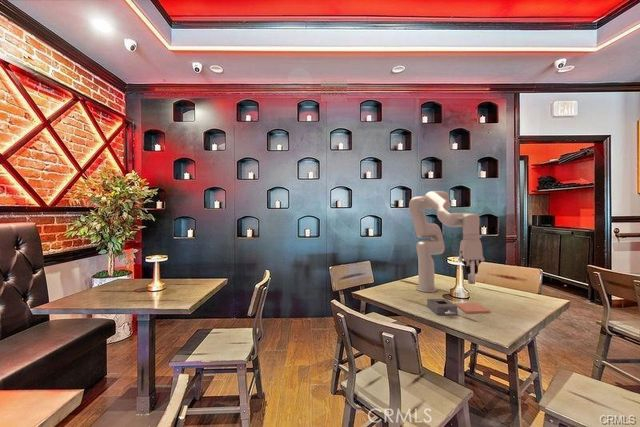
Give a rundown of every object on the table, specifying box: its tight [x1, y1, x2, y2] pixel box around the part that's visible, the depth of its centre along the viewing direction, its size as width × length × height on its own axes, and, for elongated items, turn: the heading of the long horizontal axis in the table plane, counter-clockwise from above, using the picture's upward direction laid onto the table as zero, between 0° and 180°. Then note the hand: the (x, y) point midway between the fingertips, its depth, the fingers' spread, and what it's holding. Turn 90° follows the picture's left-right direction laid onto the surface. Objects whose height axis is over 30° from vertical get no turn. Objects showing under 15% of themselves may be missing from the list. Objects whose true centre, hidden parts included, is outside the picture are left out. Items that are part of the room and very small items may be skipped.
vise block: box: [426, 298, 458, 316], centre depth 144 cm, size 16×10×4 cm, turn 1°
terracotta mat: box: [453, 302, 491, 314], centre depth 147 cm, size 12×12×1 cm
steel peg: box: [467, 260, 476, 285], centre depth 147 cm, size 3×3×12 cm
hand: (471, 273), depth 147 cm, fingers closed on steel peg, 3 cm apart
